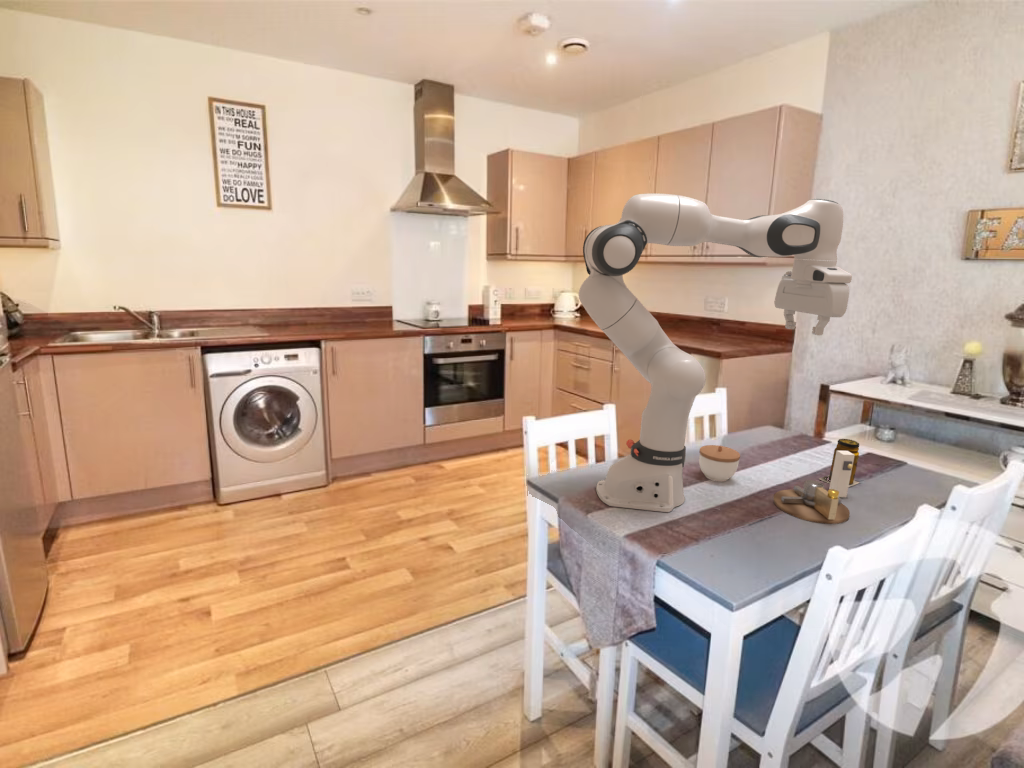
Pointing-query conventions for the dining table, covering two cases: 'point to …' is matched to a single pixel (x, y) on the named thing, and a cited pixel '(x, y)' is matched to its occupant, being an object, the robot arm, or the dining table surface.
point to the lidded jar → (718, 462)
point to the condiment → (851, 447)
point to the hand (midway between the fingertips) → (803, 331)
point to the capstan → (816, 498)
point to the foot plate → (808, 509)
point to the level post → (842, 472)
